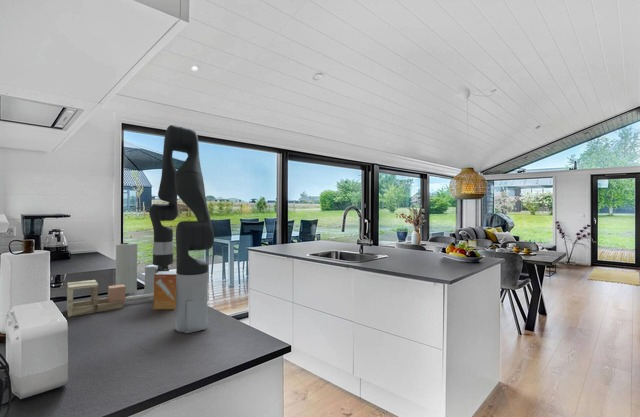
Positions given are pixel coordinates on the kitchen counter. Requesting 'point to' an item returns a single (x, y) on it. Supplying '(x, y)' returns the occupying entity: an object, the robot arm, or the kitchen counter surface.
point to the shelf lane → (88, 305)
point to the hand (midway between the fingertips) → (162, 294)
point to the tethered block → (121, 293)
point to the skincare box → (149, 278)
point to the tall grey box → (126, 266)
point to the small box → (165, 290)
